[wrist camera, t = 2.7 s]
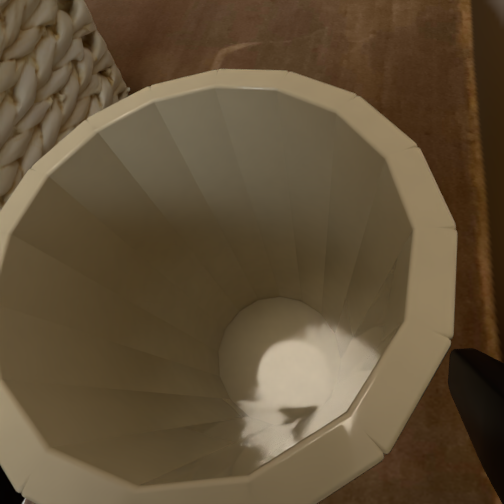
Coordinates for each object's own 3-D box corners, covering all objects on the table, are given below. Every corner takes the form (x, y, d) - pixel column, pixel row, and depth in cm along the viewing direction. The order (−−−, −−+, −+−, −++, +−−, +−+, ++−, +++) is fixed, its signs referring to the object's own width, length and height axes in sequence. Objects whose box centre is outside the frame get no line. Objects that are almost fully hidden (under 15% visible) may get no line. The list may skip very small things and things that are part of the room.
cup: (365, 426, 14) (595, 515, 3) (217, 443, 15) (-123, 571, 3) (331, 282, 17) (367, 30, 6) (209, 302, 18) (19, 115, 6)
